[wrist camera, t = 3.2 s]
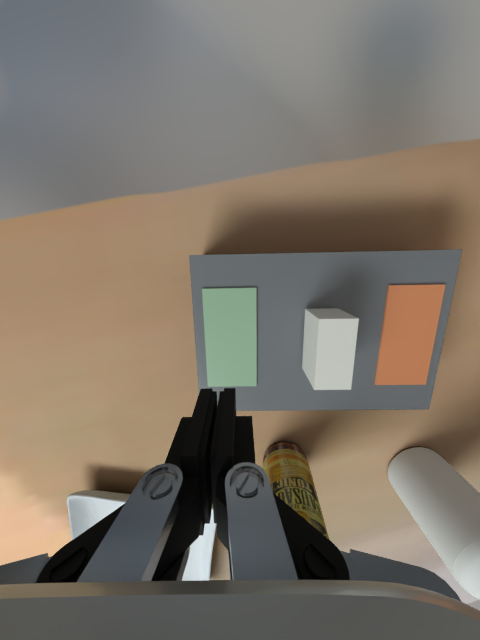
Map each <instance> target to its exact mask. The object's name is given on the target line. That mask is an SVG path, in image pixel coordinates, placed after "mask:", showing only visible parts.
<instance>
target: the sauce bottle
mask: <svg viewBox="0 0 480 640" xmlns="http://www.w3.org/2000/svg"><path fill="white" fill-rule="evenodd" d="M263 470H264V471H265V472H266V474H267V476H268V478H269V482H270V485H271V489H272V492H273V493H275V494H276V495H277V496H278V497H279V498H280V499H282V500H283V501H284V502H285V503H286V504H288V505H289V506H290V507H291V508H292V509H293V510H295V511H296V512H297V513H298V514H299V515H301V516H302V517H303V518H304V519H305V520H306V521H308V522H309V523H310V524H311V525H312V526H314V527H315V528H316V529H317V530H318V531H319V532H321V533H322V534H323V535H324V536H325V537H326V538H328V539H329V537H328V534H327V530H326V526H325V523H324V519H323V515H322V511H321V508H320V504H319V500H318V497H317V493H316V490H315V486H314V482H313V479H312V475H311V471H310V468H309V464H308V461H307V460H306V457H305V455H304V453H303V451H302V449H301V448H299V447H298V446H296V445H295V444H292V443H288V442H281V443H277V444H274V445H272V446H270V447H269V448H268V450H267V452H266V453H265V455H264V458H263Z"/></svg>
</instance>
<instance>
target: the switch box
mask: <svg viewBox="0 0 480 640" xmlns="http://www.w3.org/2000/svg"><path fill="white" fill-rule="evenodd" d="M461 253H462V250H414V251H366V252H319V253H271V254H223V255H189V259H190V274H191V288H192V302H193V316H194V330H195V344H196V358H197V372H198V386H199V393H200V390H201V389H205V388H212V389H213V391H217V405H218V400H219V393H220V391H224V388H235V390H236V411H277V410H416V409H429V407H430V402H431V397H432V392H433V387H434V383H435V378H436V373H437V368H438V363H439V359H440V354H441V349H442V344H443V339H444V334H445V330H446V325H447V320H448V315H449V310H450V306H451V301H452V296H453V291H454V286H455V282H456V277H457V272H458V267H459V262H460V258H461ZM321 308H338V309H340V310H342V311H344V312H347V313H349V314H351V315H353V316H355V317H357V318H359V322H358V331H357V340H356V349H355V358H354V368H353V377H352V386H351V390H314V389H313V387H312V385H311V383H310V382H309V380H308V378H307V376H306V374H305V373H304V371H303V369H302V360H303V340H304V321H305V309H321Z"/></svg>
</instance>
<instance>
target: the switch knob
mask: <svg viewBox="0 0 480 640" xmlns="http://www.w3.org/2000/svg"><path fill="white" fill-rule="evenodd" d="M358 322H359V318H357V317H355V316H353V315H351V314H349V313H347V312H344V311H342V310H340V309H338V308H321V309H305V321H304V340H303V360H302V369H303V371H304V373H305V374H306V376H307V378H308V380H309V382H310V383H311V385H312V387H313V389H314V390H351V386H352V377H353V368H354V358H355V349H356V340H357V331H358Z"/></svg>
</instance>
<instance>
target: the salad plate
mask: <svg viewBox="0 0 480 640" xmlns="http://www.w3.org/2000/svg"><path fill="white" fill-rule="evenodd" d="M130 495H131V494H124V493H115V492H108V491H98V490H85V491H79V492H75V493H72V494H70V495H69V496H68V498H67V505H68V513H69V521H70V528H71V536H72V540H73V539H75V538H76V537H78V536H79V535H80V534H82V533H83V532H85V531H86V530H88V529H89V528H90V527H92V526H93V525H95V524H96V523H98V522H99V521H100V520H102V519H103V518H105V517H106V516H108V515H109V514H110V513H112V512H113V511H115V510H116V509H118V508H119V507H120V506H122V505H123V504H125V503H126V501H127V500H128V498H129V497H130ZM216 526H217V523H214V514H213V505H212V511H211V519H210V524H205V525H204V533H203V535H199V537H198V538H197V539H196V540H195V541H194V542H193V543H192V544H191V545H190V552H189V557H188V561H187V564H186V567H185V571H184V574H183V578H182V581H206V580H210V572H211V560H212V552H213V545H214V538H215V532H216Z"/></svg>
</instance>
